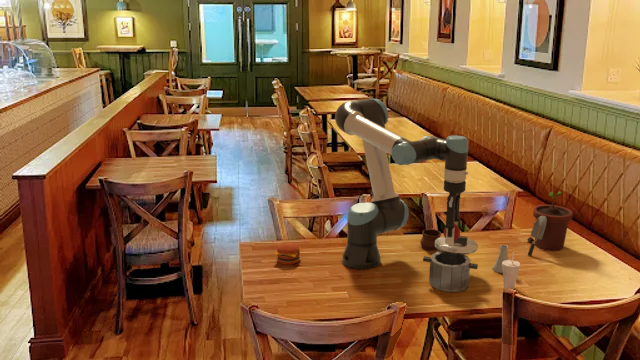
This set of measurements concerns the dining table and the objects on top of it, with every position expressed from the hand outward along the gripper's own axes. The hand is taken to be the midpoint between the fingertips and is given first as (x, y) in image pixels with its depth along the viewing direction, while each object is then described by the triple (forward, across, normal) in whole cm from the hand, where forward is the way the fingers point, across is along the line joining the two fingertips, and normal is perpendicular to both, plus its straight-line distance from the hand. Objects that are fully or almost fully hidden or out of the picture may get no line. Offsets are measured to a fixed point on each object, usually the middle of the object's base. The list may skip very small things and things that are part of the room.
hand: (451, 241), depth 225 cm
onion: (0, 0, 0) cm, 0 cm away
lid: (+7, +12, 0) cm, 14 cm away
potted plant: (+17, +51, -31) cm, 62 cm away
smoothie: (+17, +6, -21) cm, 28 cm away
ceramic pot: (+17, +33, +14) cm, 40 cm away
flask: (+17, +20, -17) cm, 32 cm away
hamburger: (+17, -2, +64) cm, 66 cm away
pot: (+17, 0, 0) cm, 17 cm away
